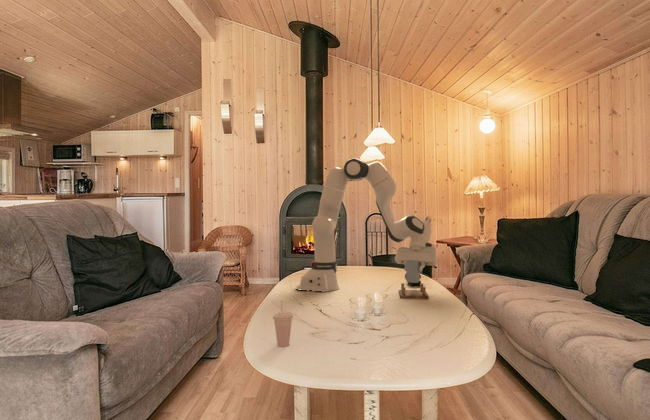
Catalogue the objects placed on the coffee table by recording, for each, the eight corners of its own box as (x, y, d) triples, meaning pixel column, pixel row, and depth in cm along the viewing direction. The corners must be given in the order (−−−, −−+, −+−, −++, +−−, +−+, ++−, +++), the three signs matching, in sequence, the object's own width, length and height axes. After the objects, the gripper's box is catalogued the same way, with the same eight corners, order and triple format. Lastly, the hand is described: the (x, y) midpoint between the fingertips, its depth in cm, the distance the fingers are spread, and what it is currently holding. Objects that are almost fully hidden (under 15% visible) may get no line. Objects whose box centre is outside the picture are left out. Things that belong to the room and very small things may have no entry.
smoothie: (283, 340, 139) (282, 298, 139) (297, 344, 135) (296, 300, 135) (269, 345, 134) (268, 301, 134) (283, 349, 130) (282, 304, 130)
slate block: (406, 282, 201) (406, 261, 201) (409, 280, 205) (409, 259, 205) (416, 282, 199) (416, 261, 198) (419, 281, 203) (419, 260, 203)
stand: (400, 298, 196) (399, 288, 196) (398, 292, 209) (398, 282, 209) (428, 298, 195) (428, 288, 195) (425, 292, 208) (425, 283, 208)
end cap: (404, 283, 232) (404, 271, 232) (417, 283, 232) (417, 270, 232) (407, 286, 222) (407, 274, 222) (421, 286, 222) (420, 274, 222)
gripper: (396, 243, 213) (390, 265, 204) (437, 244, 203) (432, 267, 194) (399, 251, 217) (393, 273, 208) (439, 252, 207) (434, 275, 198)
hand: (412, 270), depth 201 cm, fingers closed on slate block, 5 cm apart
